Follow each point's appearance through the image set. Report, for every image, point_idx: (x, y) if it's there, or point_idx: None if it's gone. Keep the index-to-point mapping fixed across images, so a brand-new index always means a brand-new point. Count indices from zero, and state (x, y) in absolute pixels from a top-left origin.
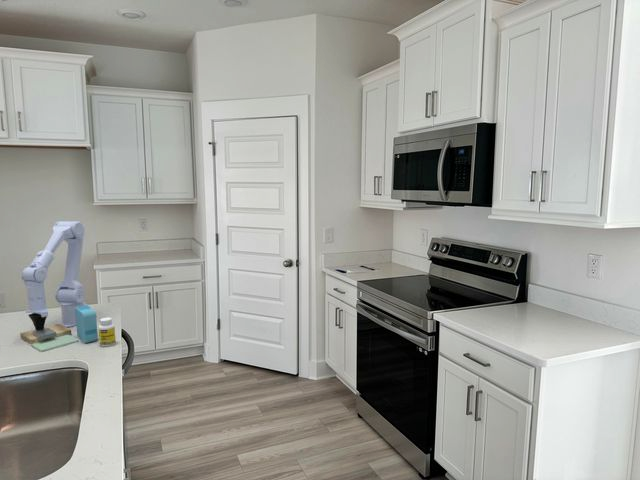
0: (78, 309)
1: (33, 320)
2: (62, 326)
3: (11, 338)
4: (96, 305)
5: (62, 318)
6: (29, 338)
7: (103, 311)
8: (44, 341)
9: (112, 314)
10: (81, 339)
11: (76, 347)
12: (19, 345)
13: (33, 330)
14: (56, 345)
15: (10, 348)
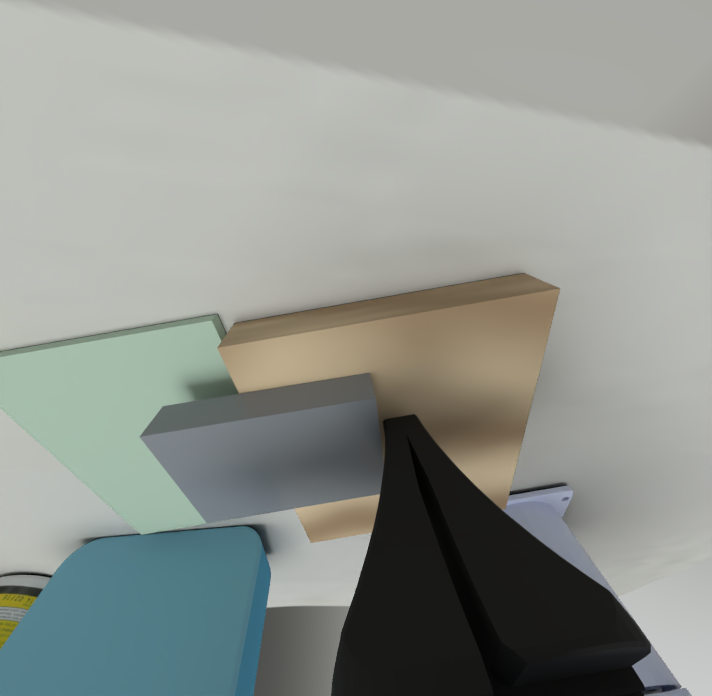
0: None
1: (414, 553)
2: None
3: (603, 197)
4: (655, 578)
5: (549, 543)
6: (286, 339)
7: None
8: None
9: None
10: (160, 537)
11: (26, 511)
12: (299, 229)
13: (518, 390)
14: (72, 453)
15: (248, 121)
